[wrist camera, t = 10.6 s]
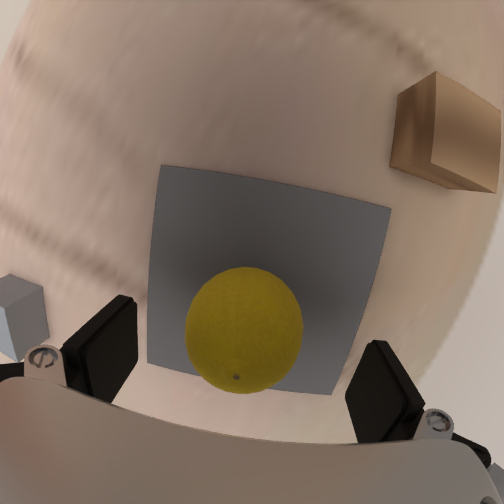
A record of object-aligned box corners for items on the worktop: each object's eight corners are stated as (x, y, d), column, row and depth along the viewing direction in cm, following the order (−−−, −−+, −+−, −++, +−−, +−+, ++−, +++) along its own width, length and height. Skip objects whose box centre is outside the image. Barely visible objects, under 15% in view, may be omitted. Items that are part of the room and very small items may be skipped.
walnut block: (397, 95, 14) (436, 71, 9) (455, 122, 14) (500, 110, 9) (388, 166, 15) (430, 162, 10) (448, 188, 15) (496, 193, 10)
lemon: (304, 322, 17) (324, 411, 10) (222, 342, 18) (196, 431, 10) (281, 239, 16) (293, 289, 8) (192, 265, 17) (137, 327, 9)
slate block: (10, 273, 19) (-26, 290, 14) (43, 286, 19) (4, 308, 14) (17, 320, 20) (-14, 341, 15) (50, 336, 20) (18, 363, 15)
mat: (162, 165, 16) (160, 165, 16) (389, 208, 16) (391, 208, 15) (148, 360, 19) (147, 362, 19) (330, 392, 19) (331, 395, 19)
